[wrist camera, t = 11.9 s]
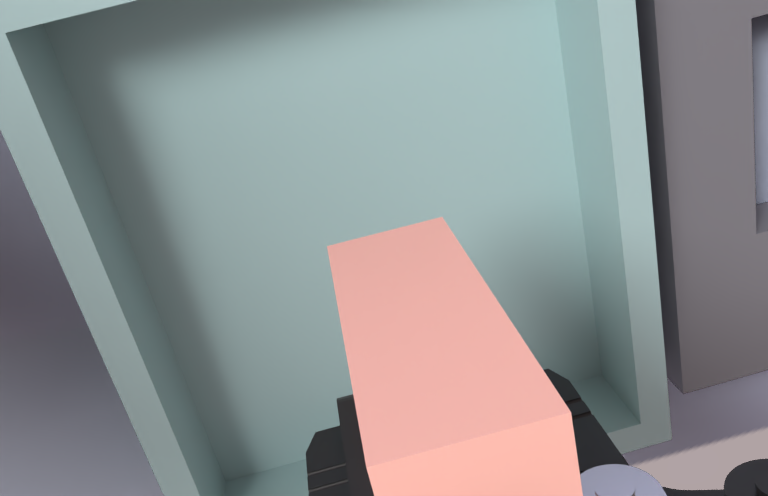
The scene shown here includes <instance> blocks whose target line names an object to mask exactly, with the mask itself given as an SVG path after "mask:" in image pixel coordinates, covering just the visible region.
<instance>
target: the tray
mask: <svg viewBox="0 0 768 496" xmlns="http://www.w3.org/2000/svg"><path fill="white" fill-rule="evenodd" d="M0 130H1V133H2V135H3V137H4V139H5V141H6V144H7V146H8V148H9V150H10V153H11V155H12V157H13V159H14V162H15V164H16V166H17V168H18V171H19V173H20V175H21V177H22V180H23V182H24V184H25V186H26V189H27V191H28V193H29V195H30V197H31V200H32V202H33V204H34V206H35V209H36V211H37V213H38V215H39V218H40V220H41V222H42V224H43V227H44V229H45V231H46V233H47V236H48V238H49V240H50V242H51V245H52V247H53V249H54V251H55V253H56V256H57V258H58V260H59V262H60V265H61V267H62V269H63V271H64V274H65V276H66V278H67V280H68V283H69V285H70V287H71V289H72V292H73V294H74V296H75V298H76V300H77V303H78V305H79V307H80V309H81V312H82V314H83V316H84V318H85V321H86V323H87V325H88V327H89V330H90V332H91V334H92V336H93V339H94V341H95V343H96V345H97V348H98V350H99V352H100V354H101V356H102V359H103V361H104V363H105V365H106V368H107V370H108V372H109V374H110V377H111V379H112V381H113V383H114V386H115V388H116V390H117V392H118V395H119V397H120V399H121V401H122V403H123V406H124V408H125V410H126V412H127V415H128V417H129V419H130V421H131V424H132V426H133V428H134V430H135V433H136V435H137V437H138V439H139V442H140V444H141V446H142V448H143V451H144V453H145V455H146V457H147V459H148V462H149V464H150V466H151V468H152V471H153V473H154V475H155V477H156V480H157V482H158V484H159V486H160V489H161V491H162V493H163V495H164V496H309V495H308V494H309V491H308V480H307V477H308V475H307V465H306V451H307V449H308V447H309V445H310V443H311V440H312V438H313V436H314V434H315V432H318V431H321V430H325V429H329V428H332V427H336V426H340V421H339V414H338V407H337V398H340V397H344V396H347V395H351V394H353V390H352V384H351V379H350V373H349V367H348V362H347V356H346V351H345V345H344V339H343V334H342V328H341V323H340V317H339V311H338V306H337V300H336V295H335V289H334V283H333V278H332V272H331V267H330V261H329V255H328V250H327V246H329V245H333V244H337V243H341V242H345V241H349V240H353V239H357V238H361V237H365V236H369V235H372V234H376V233H380V232H384V231H388V230H392V229H396V228H400V227H404V226H408V225H412V224H416V223H420V222H423V221H427V220H431V219H435V218H439V217H443V219H444V220H445V222H446V223H447V225H448V226H449V228H450V229H451V231H452V232H453V234H454V235H455V237H456V238H457V240H458V241H459V243H460V244H461V246H462V247H463V249H464V250H465V252H466V254H467V255H468V257H469V258H470V260H471V261H472V263H473V264H474V266H475V267H476V269H477V270H478V272H479V273H480V275H481V276H482V278H483V279H484V281H485V282H486V284H487V285H488V287H489V288H490V290H491V291H492V293H493V294H494V296H495V298H496V299H497V301H498V302H499V304H500V305H501V307H502V308H503V310H504V311H505V313H506V314H507V316H508V317H509V319H510V320H511V322H512V323H513V325H514V326H515V328H516V329H517V331H518V332H519V334H520V335H521V337H522V339H523V340H524V342H525V343H526V345H527V346H528V348H529V349H530V351H531V352H532V354H533V355H534V357H535V358H536V360H537V361H538V363H539V364H540V366H541V367H542V369H543V370H544V369H550V370H552V371H554V372H555V373H557V374H559V375H561V376H562V377H564V378H566V379H568V380H569V381H570V382H571V384H572V385H573V386H574V388H575V389H576V391H577V392H578V394H579V395H580V396H581V399H582V401H584V402H585V404H586V405H587V406H588V408H589V409H590V411H591V414H592V415H594V416H595V418H596V419H597V421H598V422H599V423H600V425H601V426H602V428H603V429H604V431H605V432H606V433H607V435H608V436H609V438H610V439H611V440H612V442H613V443H614V445H615V446H616V448H617V449H618V450H619V452H620V453H621V454H624V453H628V452H631V451H635V450H638V449H641V448H645V447H648V446H652V445H655V444H659V443H662V442H666V441H669V440H672V432H671V420H670V408H669V396H668V384H667V372H666V360H665V348H664V336H663V324H662V313H661V301H660V289H659V277H658V265H657V253H656V241H655V229H654V217H653V205H652V193H651V181H650V169H649V158H648V146H647V134H646V122H645V110H644V98H643V86H642V74H641V62H640V50H639V38H638V26H637V14H636V3H635V0H0Z"/></svg>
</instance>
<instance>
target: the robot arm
mask: <svg viewBox="0 0 768 496" xmlns="http://www.w3.org/2000/svg"><path fill="white" fill-rule="evenodd" d="M544 372H545V373H546V375H547V376H548V378H549V379H550V381H551V383H552V384H553V386H554V387H555V389H556V390H557V392H558V393H559V395H560V396H561V398H562V399H563V401H564V402H565V404H566V405H567V407H568V408H569V410H570V411H571V415H572V422H573V429H574V436H575V443H576V450H577V457H578V464H579V471H580V478H581V485H582V493H583V496H768V459H759V460H753V461H749V462H746V463H743V464H741V465H739V466H737V467H735V468H734V469H733V470H732V471H731V472H730V473H729V474H728V475H727V477H726V480H725V484H724V490H676V489H670V488H666V487H662V486H661V485H660V484H659V482H658V481H657V480H656V479H655V478H654V477H653V476H651V475H650V474H648V473H647V472H645V471H643V470H641V469H639V468H636V467H633V466H629V465H628V463H627V462H626V460H625V459H624V458H623V456H622V455H621V453H620V452H619V450H618V449H617V448H616V446H615V445H614V443H613V442H612V440H611V439H610V438H609V436H608V435H607V433H606V432H605V431H604V429H603V428H602V426H601V425H600V423H599V422H598V421H597V419H596V418H595V416H594V415H592V414H591V411H590V409H589V408H588V406H587V405H586V404H585V402H584V401H582V399H581V396H580V395H579V394H578V392H577V391H576V389H575V388H574V386H573V385H572V384H571V382H570V381H569V380H568V379H566V378H564V377H562V376H561V375H559V374H557V373H555V372H554V371H552V370H550V369H544ZM337 407H338V414H339V421H340V426H336V427H332V428H329V429H325V430H321V431H318V432H315V434H314V436H313V438H312V440H311V443H310V445H309V447H308V449H307V451H306V465H307V475H308V477H307V480H308V491H309V494H308V495H309V496H374V493H373V489H372V486H371V482H370V479H369V475H368V472H367V468H366V463H365V457H364V452H363V446H362V440H361V435H360V429H359V424H358V418H357V412H356V407H355V401H354V396H353V394H351V395H347V396H344V397H340V398H337Z"/></svg>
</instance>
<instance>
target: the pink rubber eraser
mask: <svg viewBox="0 0 768 496" xmlns="http://www.w3.org/2000/svg"><path fill="white" fill-rule="evenodd" d="M327 250H328V255H329V261H330V267H331V272H332V278H333V283H334V289H335V295H336V300H337V306H338V311H339V317H340V323H341V328H342V334H343V339H344V345H345V351H346V356H347V362H348V367H349V373H350V379H351V384H352V390H353V396H354V401H355V407H356V412H357V418H358V424H359V429H360V435H361V440H362V446H363V452H364V457H365V463H366V468H367V472H368V475H369V479H370V482H371V486H372V489H373V493H374V496H583V493H582V485H581V478H580V471H579V464H578V457H577V450H576V443H575V436H574V429H573V422H572V415H571V411H570V410H569V408H568V407H567V405H566V404H565V402H564V401H563V399H562V398H561V396H560V395H559V393H558V392H557V390H556V389H555V387H554V386H553V384H552V383H551V381H550V379H549V378H548V376H547V375H546V373H545V372H544V370H543V369H542V367H541V366H540V364H539V363H538V361H537V360H536V358H535V357H534V355H533V354H532V352H531V351H530V349H529V348H528V346H527V345H526V343H525V342H524V340H523V339H522V337H521V335H520V334H519V332H518V331H517V329H516V328H515V326H514V325H513V323H512V322H511V320H510V319H509V317H508V316H507V314H506V313H505V311H504V310H503V308H502V307H501V305H500V304H499V302H498V301H497V299H496V298H495V296H494V294H493V293H492V291H491V290H490V288H489V287H488V285H487V284H486V282H485V281H484V279H483V278H482V276H481V275H480V273H479V272H478V270H477V269H476V267H475V266H474V264H473V263H472V261H471V260H470V258H469V257H468V255H467V254H466V252H465V250H464V249H463V247H462V246H461V244H460V243H459V241H458V240H457V238H456V237H455V235H454V234H453V232H452V231H451V229H450V228H449V226H448V225H447V223H446V222H445V220H444V219H443V217H439V218H435V219H431V220H427V221H423V222H420V223H416V224H412V225H408V226H404V227H400V228H396V229H392V230H388V231H384V232H380V233H376V234H372V235H369V236H365V237H361V238H357V239H353V240H349V241H345V242H341V243H337V244H333V245H329V246H327Z"/></svg>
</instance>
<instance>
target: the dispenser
mask: <svg viewBox="0 0 768 496" xmlns="http://www.w3.org/2000/svg"><path fill="white" fill-rule="evenodd" d="M635 3H636V14H637V26H638V38H639V50H640V62H641V74H642V86H643V98H644V110H645V122H646V134H647V146H648V158H649V169H650V181H651V193H652V205H653V217H654V229H655V241H656V253H657V265H658V277H659V289H660V301H661V313H662V324H663V336H664V348H665V360H666V372H667V377H668V378H669V379H670V380H671V382H672V383H673V384H674V385H675V386H676V387H677V388H678V389H679V390H680V391H681V392H682V393H683V394H685V393H689V392H692V391H696V390H699V389H703V388H706V387H710V386H713V385H717V384H720V383H724V382H727V381H731V380H734V379H738V378H741V377H745V376H748V375H752V374H755V373H759V372H762V371H766V370H768V202H765V203H762V204H758V205H756V194H755V151H754V108H753V65H752V23H751V18H754V17H758V16H762V15H766V14H768V0H635Z"/></svg>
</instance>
